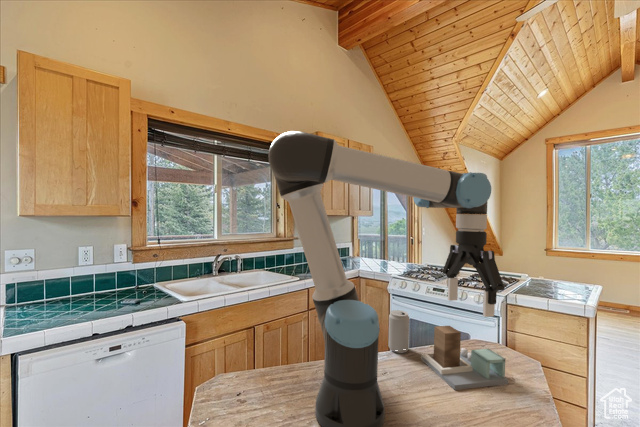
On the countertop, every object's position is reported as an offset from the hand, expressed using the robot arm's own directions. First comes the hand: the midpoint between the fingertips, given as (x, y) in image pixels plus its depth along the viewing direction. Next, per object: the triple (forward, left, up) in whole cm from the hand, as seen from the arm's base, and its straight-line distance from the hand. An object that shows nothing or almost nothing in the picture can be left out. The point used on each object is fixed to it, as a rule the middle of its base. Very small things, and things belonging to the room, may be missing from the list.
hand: (469, 307), depth 83 cm
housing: (+5, -1, -17) cm, 18 cm away
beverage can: (-12, +18, -19) cm, 29 cm away
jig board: (0, +3, -19) cm, 19 cm away
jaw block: (-3, +5, -18) cm, 19 cm away
